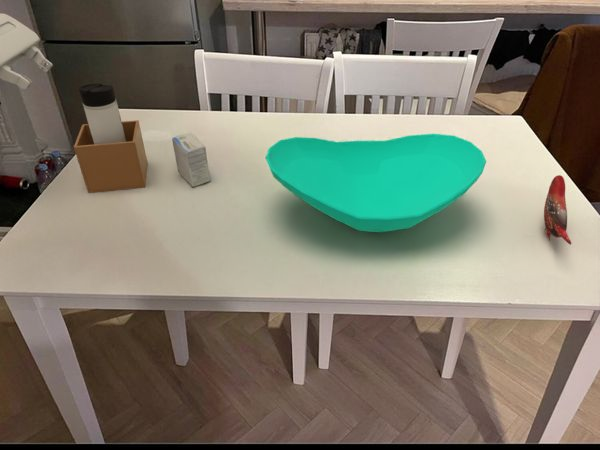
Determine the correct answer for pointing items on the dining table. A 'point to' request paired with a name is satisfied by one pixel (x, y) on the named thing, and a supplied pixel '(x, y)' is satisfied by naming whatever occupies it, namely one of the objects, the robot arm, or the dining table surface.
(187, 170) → the medicine box
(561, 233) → the decorative bird figurine
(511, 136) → the dining table surface
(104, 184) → the brown open box
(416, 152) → the table top decor
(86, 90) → the travel mug
